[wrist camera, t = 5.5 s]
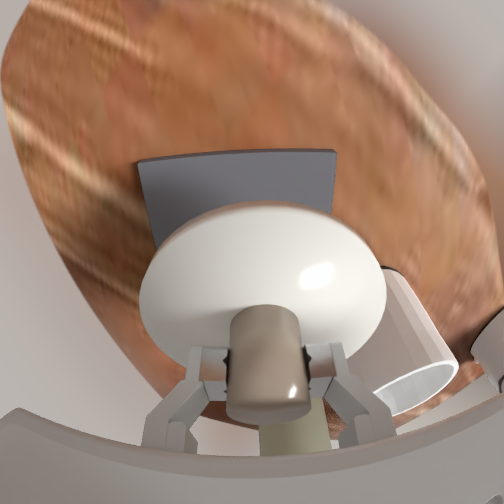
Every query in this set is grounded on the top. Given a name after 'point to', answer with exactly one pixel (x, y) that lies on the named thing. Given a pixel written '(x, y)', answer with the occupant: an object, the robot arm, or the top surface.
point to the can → (297, 434)
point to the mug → (403, 351)
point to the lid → (263, 298)
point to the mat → (232, 182)
